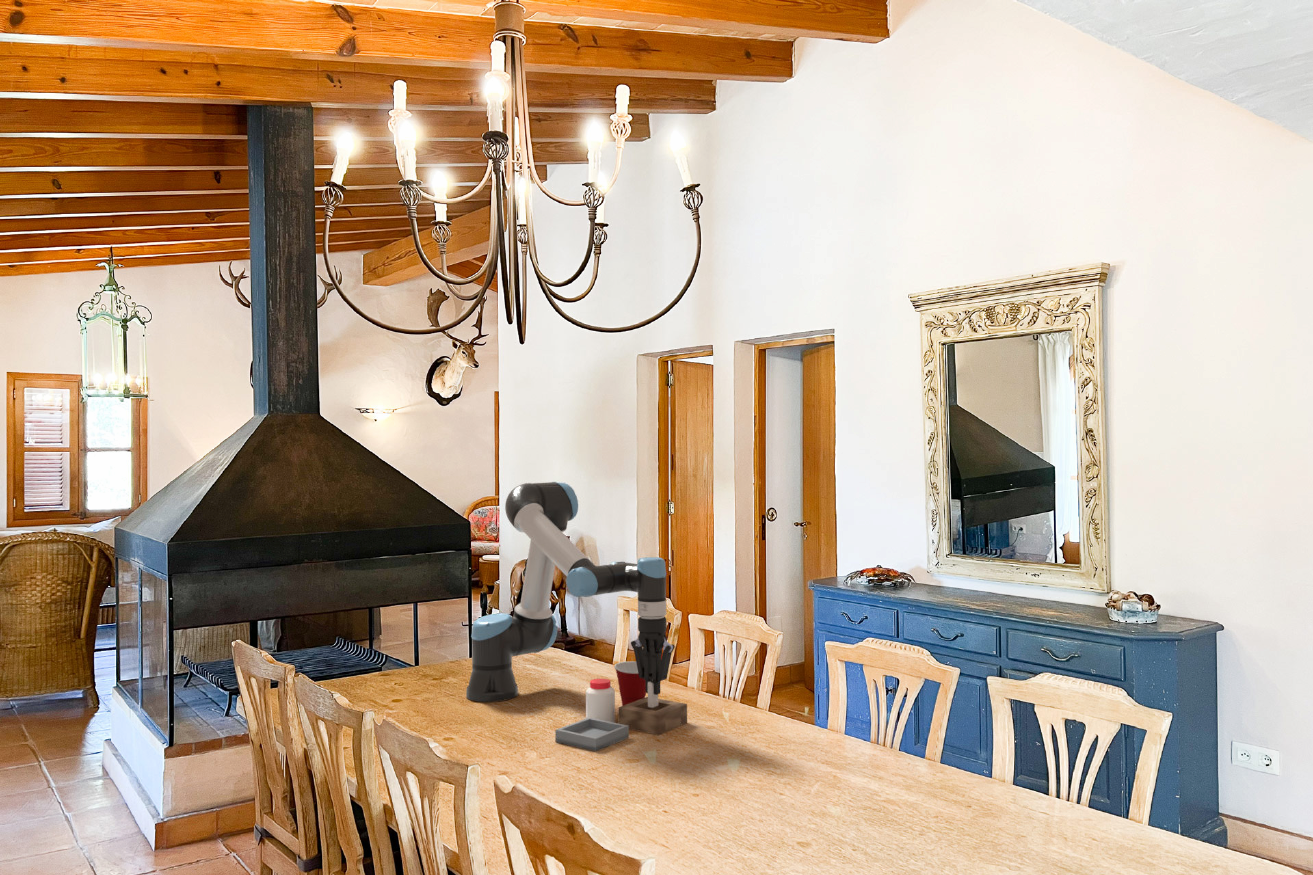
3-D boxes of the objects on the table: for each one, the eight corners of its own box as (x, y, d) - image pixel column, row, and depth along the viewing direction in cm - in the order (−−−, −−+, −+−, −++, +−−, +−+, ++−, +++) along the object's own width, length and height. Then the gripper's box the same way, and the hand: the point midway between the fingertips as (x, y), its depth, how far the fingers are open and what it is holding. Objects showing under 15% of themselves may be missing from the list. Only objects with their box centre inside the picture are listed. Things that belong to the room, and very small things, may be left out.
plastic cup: (634, 715, 252) (634, 671, 252) (606, 708, 259) (606, 665, 260) (660, 707, 260) (660, 664, 261) (632, 700, 268) (632, 659, 268)
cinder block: (618, 726, 242) (618, 707, 242) (647, 714, 253) (647, 696, 253) (658, 734, 235) (658, 715, 235) (687, 722, 245) (687, 703, 245)
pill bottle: (616, 718, 250) (616, 677, 250) (612, 726, 242) (612, 684, 242) (588, 717, 251) (588, 677, 251) (583, 726, 243) (583, 684, 243)
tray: (555, 741, 230) (555, 729, 230) (589, 728, 240) (589, 717, 240) (595, 751, 222) (595, 738, 222) (628, 737, 233) (628, 725, 233)
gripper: (624, 616, 245) (624, 705, 244) (664, 620, 237) (665, 713, 237) (640, 612, 251) (641, 699, 250) (680, 616, 243) (681, 706, 243)
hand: (653, 705), depth 244 cm, fingers closed
